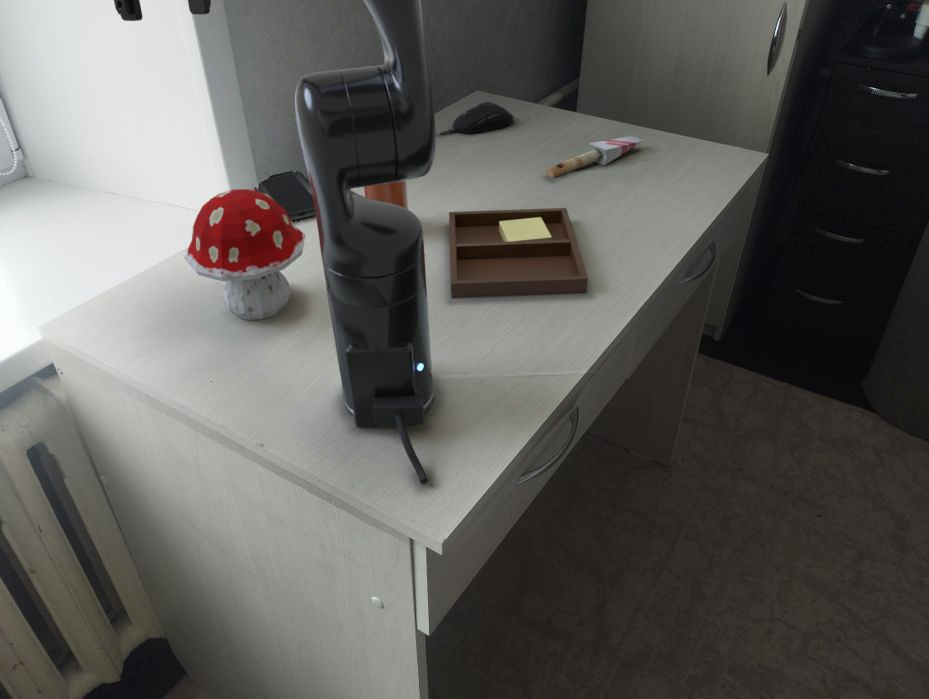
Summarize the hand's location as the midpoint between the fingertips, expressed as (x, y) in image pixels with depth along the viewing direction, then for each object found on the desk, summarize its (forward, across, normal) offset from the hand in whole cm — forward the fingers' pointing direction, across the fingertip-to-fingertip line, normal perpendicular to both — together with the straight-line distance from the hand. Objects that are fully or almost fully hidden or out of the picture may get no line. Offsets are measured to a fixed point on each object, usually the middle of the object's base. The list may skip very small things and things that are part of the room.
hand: (168, 17), depth 74 cm
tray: (+31, +28, -25) cm, 49 cm away
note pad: (+30, +33, -24) cm, 51 cm away
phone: (+28, +29, +14) cm, 43 cm away
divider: (+31, +28, -25) cm, 49 cm away
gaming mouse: (+24, +68, +2) cm, 72 cm away
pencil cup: (+30, +27, -6) cm, 41 cm away
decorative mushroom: (+33, +4, -2) cm, 33 cm away
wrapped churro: (+26, +62, -23) cm, 72 cm away
